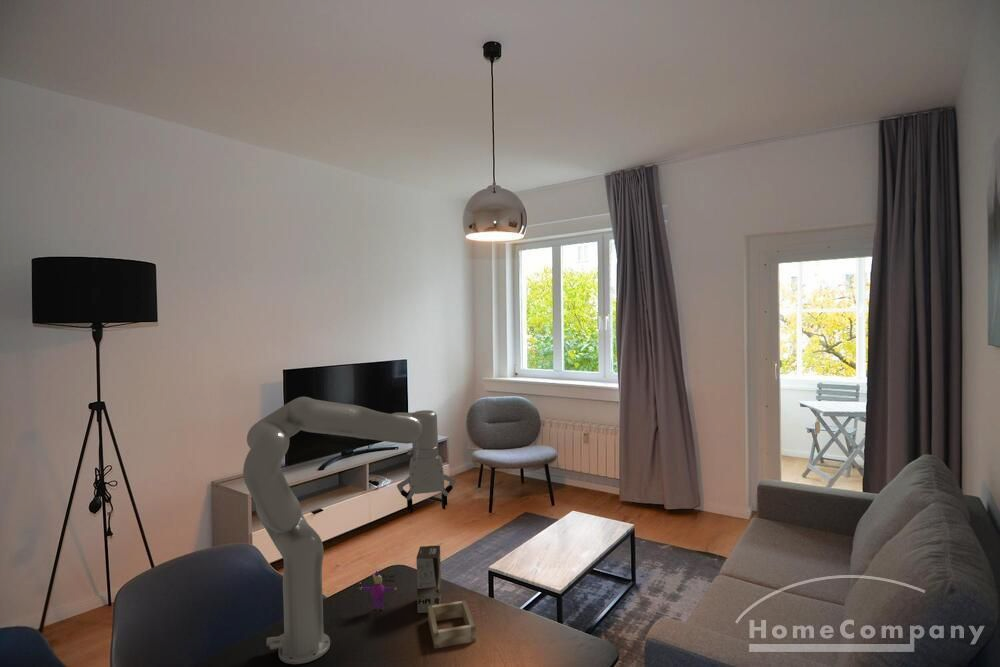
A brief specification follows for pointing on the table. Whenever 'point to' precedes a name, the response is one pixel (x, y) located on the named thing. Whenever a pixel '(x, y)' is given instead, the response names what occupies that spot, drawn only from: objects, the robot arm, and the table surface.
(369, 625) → the table surface
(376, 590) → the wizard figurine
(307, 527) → the robot arm
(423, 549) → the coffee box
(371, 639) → the table surface
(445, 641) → the open wooden box
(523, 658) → the table surface
